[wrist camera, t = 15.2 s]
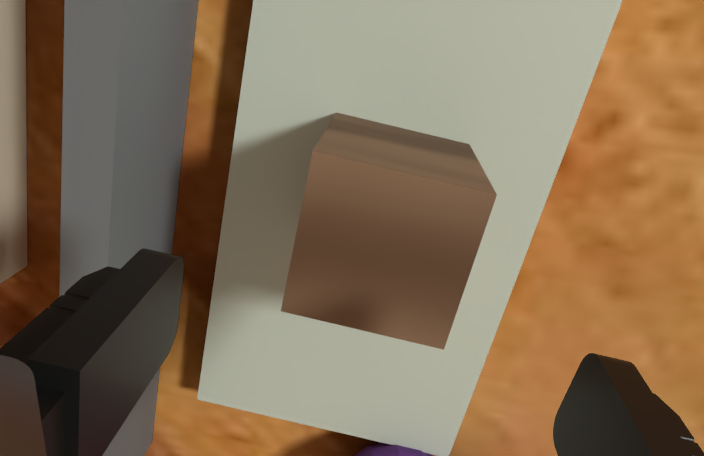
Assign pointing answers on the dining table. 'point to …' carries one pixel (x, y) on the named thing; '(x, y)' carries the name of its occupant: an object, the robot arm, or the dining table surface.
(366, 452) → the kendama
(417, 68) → the board
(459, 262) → the walnut block
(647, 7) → the dining table surface
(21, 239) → the access box
